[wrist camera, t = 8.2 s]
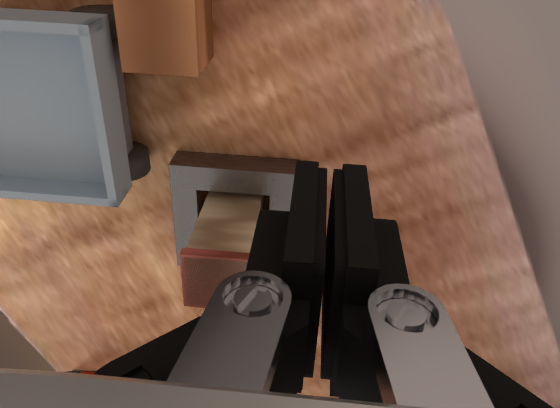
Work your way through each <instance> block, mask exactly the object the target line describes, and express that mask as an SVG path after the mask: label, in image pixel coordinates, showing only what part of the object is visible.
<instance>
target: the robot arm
mask: <svg viewBox="0 0 560 408" xmlns="http://www.w3.org/2000/svg"><path fill="white" fill-rule="evenodd" d="M318 166H319V162H314V161H301V160H297V161H296V168H295V175H294V183H293V190H292V197H291V205H290V211H279V210H266V209H260V212H259V215H258V220H257V224H256V228H255V232H254V237H253V241H252V245H251V249H250V254H249V258H248V262H247V266H246V271H243V272H238V273H236V274H233V275H230V276H229V277H227V278H225V279H224V280H222V281H221V283H220V284H219V285H218V286H217V288H216V289H215V291H214V293H213V295H212V297H211V299H210V300H209V302H208V304H207V306H206V308H205V310H204V312H203V314H202V315H201V316H200V317H198V318H196V319H194V320H192V321H190V322H188V323H186V324H184V325H182V326H180V327H178V328H176V329H174V330H172V331H170V332H168V333H166V334H164V335H162V336H160V337H158V338H156V339H154V340H152V341H151V342H149V343H147V344H145V345H143V346H141V347H139V348H137V349H135V350H133V351H131V352H129V353H127V354H125V355H123V356H121V357H119V358H117V359H115V360H113V361H111V362H109V363H108V364H106V365H105V366H103V367H102V368H100V369H99V370H97V372H96V373H95V374H94V375H93V374H82V372H81V370H79V371H68V372H53V371H38V370H21V369H4V368H2V369H0V408H553V407H551V406H550V405H548V404H547V403H546V402H544V401H543V400H541V399H540V398H538V397H537V396H535V395H534V394H533V393H531V392H530V391H528V390H527V389H525V388H524V387H522V386H521V385H520V384H518V383H517V382H515V381H514V380H512V379H511V378H509V377H508V376H507V375H505V374H504V373H502V372H501V371H499V370H498V369H496V368H495V367H494V366H492V365H491V364H489V363H488V362H486V361H485V360H483V359H482V358H480V357H479V356H478V355H476V354H475V353H473V352H472V351H470V350H469V349H467V348H466V347H465V346H464V345H463V343H462V341H461V339H460V337H459V335H458V333H457V331H456V329H455V326H454V324H453V322H452V320H451V318H450V316H449V314H448V312H447V310H446V308H445V307H444V306H443V304H442V303H441V301H440V300H439V299H437V298H436V297H435V296H434V295H432V294H431V293H429V292H427V291H425V290H424V289H422V288H419V287H416V286H412V285H410V284H409V279H408V274H407V269H406V264H405V259H404V254H403V250H402V245H401V240H400V235H399V230H398V225H397V222H396V221H395V220H387V219H375V218H373V212H372V205H371V197H370V190H369V182H368V175H367V167H366V166H365V165H352V164H343V168H342V170H341V169H334V172H333V181H332V190H331V199H330V208H329V217H328V226H327V235H326V204H327V168H318ZM321 301H322V335H321V379H330V396H337V397H339V399H338V398H328V397H319V396H309V395H299V394H297V393H301V390H302V387H303V377H311V378H313V371H314V362H315V353H316V345H317V336H318V327H319V318H320V309H321Z"/></svg>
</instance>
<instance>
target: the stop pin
mask: <svg viewBox="0 0 560 408" xmlns="http://www.w3.org/2000/svg"><path fill="white" fill-rule="evenodd" d="M263 196H264V195H254V194H241V193H229V192H216V191H209V192H208V195H207V197H206V200H205V202H204V204H203V207H202V209H201V212H200V214H199V217H198V219H197V222H196V224H195V227H194V229H193V232H192V234H191V237H190V239H189V242H188V244H187V247H186V248H184V247H182V249H181V252H180V265H181V277H182V288H183V299H184V306H190V307H201V308H206V306H207V304H208V302H209V300H210V299H211V297H212V295H213V293H214V291H215V289H216V288H217V286H218V285H219V284H220V283H221V281H222V280H224V279H225V278H227V277H229V276H230V275H233V274H236V273H238V272H243V271H246V266H247V262H248V258H249V254H250V249H251V245H252V241H253V237H254V232H255V228H256V224H257V220H258V215H259V212H260V209H263Z"/></svg>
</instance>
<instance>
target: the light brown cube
mask: <svg viewBox="0 0 560 408" xmlns="http://www.w3.org/2000/svg"><path fill="white" fill-rule="evenodd" d="M113 7H114V15H115V22H116V30H117V37H118V45H119V52H120V60H121V67H122V72H126V73H141V74H156V75H171V76H186V77H199V76H200V74H201V73H202V71H203V70H204V69H205V67H206V66H207V64H208V63H209V62H210V60H211V59H212V57H213V30H212V0H113Z"/></svg>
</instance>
